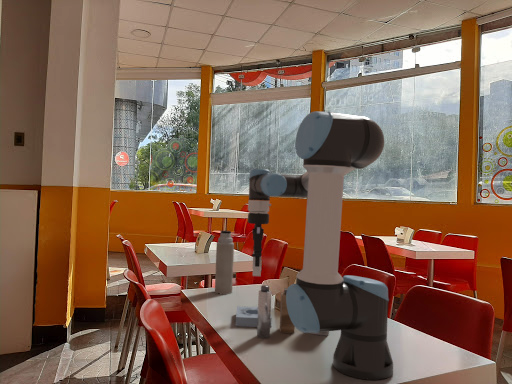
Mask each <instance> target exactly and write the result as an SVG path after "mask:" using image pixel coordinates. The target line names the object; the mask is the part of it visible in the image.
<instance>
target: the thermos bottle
mask: <svg viewBox="0 0 512 384" xmlns="http://www.w3.org/2000/svg"><path fill="white" fill-rule="evenodd" d="M217 239H218V240H217V242H216V254H215V274H214V275H215V279H214V280H215V282H214V293H215V292H216V294H218V293H221V294H220V295H228V294H232V293H233V280H234V270H233V269H234V254H235V243H234V242H233V241H234V239H233V237H232V231H231V230H220V236H219V237H218V238H217Z"/></svg>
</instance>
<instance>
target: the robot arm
mask: <svg viewBox="0 0 512 384" xmlns="http://www.w3.org/2000/svg"><path fill="white" fill-rule="evenodd" d="M294 141H295V142H294V146H295V147H294V149H295V153H296V155H297V156H298V157H299V158H300V159H301V160H303V163H302V166H303V168H304V170H306V172H304V173H303V174H302V175H299V174H297V175H295V174H280V173H277V172H271V171H270V170H269V169H266V168H265V169H264V168H253V169H251V170H250V171H249V177H248V182H249V183H248V203H247V204H248V206H247V211H248V213H247V223H248V224H253V225H254V226H253V227H254V228H252V231H251V232H252V241H253V249H252V250H253V252H252V253H251V257H252V277H262V276H261V273H262V254H263V248H262V247H263V246H262V245H263V244H262V242H263V239H264V233H265V231H264V228H263V226H262V225H268V224H269V223H270V214H269V212H270V207H271V206H272V203H270V201H271V200H270V199H271V197H283V198H303V199H304V198H306V199H307V200H306V210H305V211H306V215H305V231H304V245H303V246H304V247H303V263H302V269H301V270H299V271H298V273H297V274H296V279H295V283H292V284H290V285H289V286H288V287H287V288H288V290H287V293H286V304H287V310H288V314H289V316H290V319H291V321H292V323H293V325H294V326H295V328H294V329H297V331H299V332H301V333H305V334H309V333H319V332H327V331H329V332H336V331H340V336H339V337H338V338H339V339H338V341H337V345H336V347H335V350H334V352H333V355H332V356H333V357H332V359H333V360H332V364H333V367H334V369H336V370H337V371H338V372H339V373H341V374H344V375H346V376H349V377H351V378H356V379H361V380H369V381H375V380H376V381H377V380H378V381H379V380H385V379H389V378H390V377H391V376H393V373H394V361H393V357H392V354H391V350H390V347H389V344H388V313H389V301H390V298H389V289H388V286H387V284H385V282H382V281H379V280H376V279H372V278H368V277H364V276H363V277H362V276H357V275H346V274H345V275H343V276H342V275H341V274H340V273H339V272H338V271H339V257H340V240H341V228H342V227H341V226H342V212H343V195H344V177H345V176H346V175H348V174H349V173H350V172H351V173H352V172H353V171H355V170H362V169H365V168H366V167H368V166H370V165H371V164H373V163H375V162H376V161H377V160H378V159H379V158H380V156H381V155H382V153H383V150H384V147H385V136H384V133H383V130H382V127H380V126H379V124H378V123H377V122H376V121H375V120H373V119H371V118H369V117H368V116H367V117H366V116H362V115H352V114H346V113H340V112H332V111H318V110H317V111H312V112H309V113H308V114H307V115H306V116H305V117H303V119H302V121H301V123H300V124H299V127H298V129H297V131H296V136H295V140H294Z"/></svg>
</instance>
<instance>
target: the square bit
mask: <svg viewBox="0 0 512 384" xmlns="http://www.w3.org/2000/svg"><path fill="white" fill-rule="evenodd" d="M287 290H288V287H287V288H285V287H284V292H280V309H279V332H280V334H281V333H283V334H295V329H296V328H295V326H294V325H293V323H292V321H291V319H290V316H289V314H288V310H287V304H286V293H287Z"/></svg>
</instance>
